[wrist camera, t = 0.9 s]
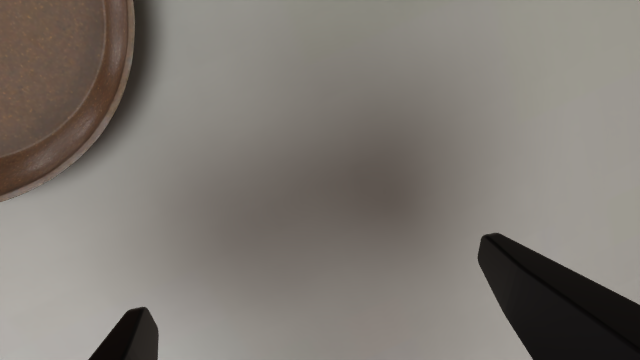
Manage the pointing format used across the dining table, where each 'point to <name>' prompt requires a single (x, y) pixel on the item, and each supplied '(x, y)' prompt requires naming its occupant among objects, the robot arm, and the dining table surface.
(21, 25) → the plant saucer
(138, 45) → the dining table surface
